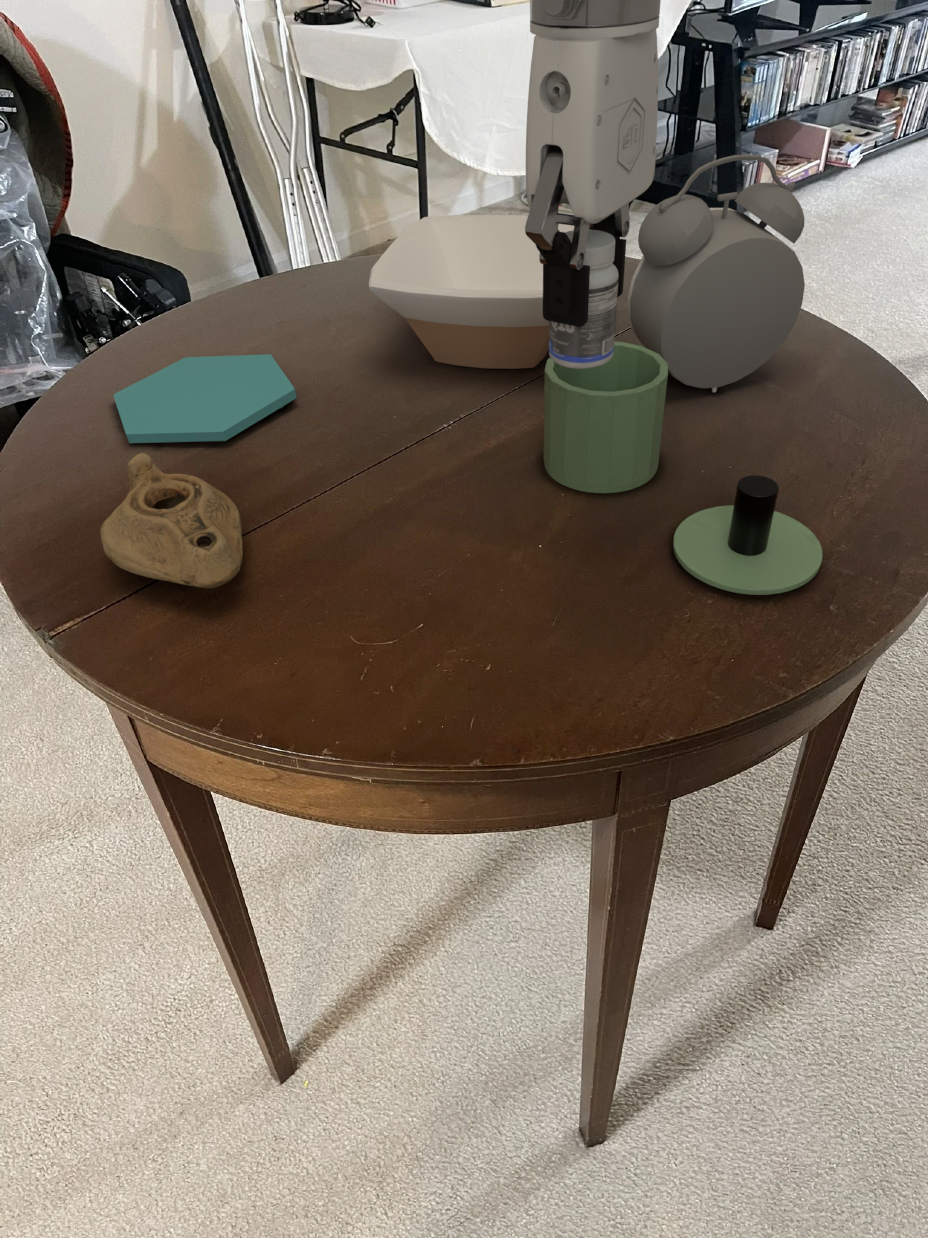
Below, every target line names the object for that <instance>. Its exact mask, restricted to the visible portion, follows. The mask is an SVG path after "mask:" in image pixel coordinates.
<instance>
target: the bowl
mask: <svg viewBox="0 0 928 1238" xmlns="http://www.w3.org/2000/svg"><path fill="white" fill-rule="evenodd" d="M527 218H528V215H525V214H523V215H522V214H453V215H433V216H424V217H422V218H420V219H418V221H416V222H414V223H413V224H410V225H409V226H408V227H406V228H404V230H402V232H401V233H400V234H399V235H398V236H397V237H396V238H395V240H394V241H393V242H392V243H391V244H390V245H389V246H388V248H386V250H385V251H384V253H382V255H381V256H380V257H379V258H378V260H377V261H376V262H375V263H374V265H373V266H372V268H371V269H370V274H369V281H368V288H369V291H370V292H371V293H372V294H374V295H375V296H376V297H377V298H379V299H380V300H381V301H382V302H384V303H385V304H386V305H388V306H389V307H390V308H391V309H392V310H393V311H395V312H396V313H397V314H398V315H400V316H401V317H402V318H404V319H405V320H406V322H407V323H408V325H409V326H410V328H411V329H412V330H413V332H414V333H415V335H416V336H417V337H418V339H419V340H420V341H421V343H422V344H423V346H424V347H425V348H426V350H427V351H428V353H429V354H430V355H431V357H432V358H433V360H434V361H435V362H436V363H440V364H441V363H442V364H445V365H452V366H458V367H467V368H476V369H493V370H495V369H496V370H498V369H500V370H515V369H516V370H518V369H519V370H521V369H533V368H535V367H537V365H539V364H540V362H541V361H543V360H544V359H545V357H546V356H547V353H548V352H549V321H547V320H545V319H544V317H543V264H541V263H540V260H539V254H540V252H539V250H538V249H537V247H536V244H535V243H534V242H533V241H532V240H531V239H530V238H529V237H528V236H527V235H526V233H525V226H526V222H527ZM558 230H559V231H560V232H567V231H572V230H574V226H571V225H565V224H559V225H558Z"/></svg>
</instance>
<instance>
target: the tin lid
mask: <svg viewBox="0 0 928 1238" xmlns="http://www.w3.org/2000/svg"><path fill="white" fill-rule="evenodd" d="M779 490H780V487H779V484H778V483H777V482H776V481H775V480H774V479H772V478H771V477H768V476H764V475H755V474H754V475H746V476H744V477H742V478H740V479H739V480H738V482H737V485H736V490H735V498H734V503H733V504H731V505H718V506H713V507H709V508H705V509H702V510H699V511H697V512H695V513H693V514H691V515H689V516H688V517H686V518H685V519H684V520H682V522H680V524H679V525H678V526H677V527H676V530H675V531H674V535H673V541H672V550H673V553H674V556H675V558H676V560H677V561H678V563H679V564H680V565H681V566H682V568H683V569H684V570H685V571H686V572H687V573H688V574H690V575H691V576H693V577H694V578H695V579H698V580H699V581H701V582H702V583H705V584H707V585H709V586H711V587H713V588H717V589H718V590H719V589H720V590H722V591H727V592H731V593H736V594H740V595H741V594H742V595H750V596H751V595H752V596H753V595H754V596H764V595H765V596H767V595H776V594H777V595H778V594H783V593H787V592H790V591H793V590H796V589H798V588H800V587H802V586H804V585H807V583H809V582H810V581H811V580H813V578H814V577H816V576H817V574H818V573H819V571H820V569H821V566H822V562H823V556H824V554H823V549H822V545H821V543H820V541H819V539H818V538H817V536H816V534H815V533H813V532H812V530H811V529H809V528H808V527H807V526H806V525H804V524H803V523H801V521H798V520H797V519H795V518H793V517H791V516H788V515H787V514H784V513H782V512H778V511H775V510H776V504H777V500H778V495H779Z"/></svg>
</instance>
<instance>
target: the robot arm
mask: <svg viewBox="0 0 928 1238" xmlns="http://www.w3.org/2000/svg"><path fill="white" fill-rule="evenodd" d="M661 1H662V0H529V32H530V34H532V35H534V36H533V44H532V53H531V62H530V70H529V84H528V95H527V113H526V131H525V132H526V133H525V191H526V202H527V206H528V208H529V212H528V215H527V216H528V218H527V222H526V226H525V233H526V235H527V236H528V237H529V238H530V239H531V240H532V241H533V242H534V243H535V244H536V247H537V249H538V250H539V252H540V254H539V260H540V263H541V264H543V317H544V319H545V320H547V321H552V322H557V323H562V324H567V325H572V326H577V327H582V326H583V325H584V324H586V323H587V321H588V303H589V279H590V266H588V265H584V261H585V254H586V247H587V240H588V234H589V229H591V230H599V231H604V232H607V233H609V234H611V235H612V236H613V237H614V238H615V256H614V261H613V262H612V264H614V265H615V266H616V268H617V270H618V274H619V279H618V293H617V299H618V298H619V297H621V296H622V294H623V293H624V283H625V267H626V252H627V239H626V237H628V235H629V231H630V227H631V221H630V220H631V219H630V209H631V206H632V204H633V203H634V200H635V199H636V198H638V197H640V196H641V195H642V194H644V193H645V192H646V191H647V190H648V189H649V187H650V186H651V185H652V183H653V181H654V178H655V172H656V171H655V170H656V158H657V157H656V156H657V137H658V136H657V134H658V110H659V109H658V108H659V106H658V104H659V54H658V53H659V51H658V34H657V29H658V28H659V27H660V13H661ZM563 204H565V205H569V207H570V209H571V213H569V212H568V213H567V212H560V211H559V208H560V206H562V205H563ZM559 224H565V225H571V226H574V232H573V239H572V243H571V241H570V239H569V238H568V236H567V234H566V233H565V232H560V231H559V230H558V225H559Z"/></svg>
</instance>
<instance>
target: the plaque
mask: <svg viewBox="0 0 928 1238" xmlns="http://www.w3.org/2000/svg"><path fill="white" fill-rule="evenodd" d="M112 396H113V399H114V402H115V405H116V408H117V411H118V414H119V417H120V420H121V423H122V424H121V425H122V427H123V430H124V433H125V436H126V439H127V441H128V443H129V444H150V443H155V444H156V443H189V442H190V443H193V442H195V443H196V442H227V441H228V440H229V439H231V438H233V437H234V436H237V435H238V434H240V433H241V432H243V431H245V430H246V429H248V428H249V427H251V426H253V425H255V424H256V423H258V422H259V421H261V420H263V419H264V418H266V417H268V416H270V415H271V414H273V413H274V412H276V411H277V410H279V409H283V407H284V406H286V405H288V404H289V403H291V402H292V401H294V400H296V399H297V397H298V396H297V392H296V388H295V387H294V385H293V384H292V382H291V380H290V379H289V378H288V377H287V376H286V373H284V371H283V370H282V368H281V367H280V366H279V364H278V363H277V361H276V359H275V357H273V355H272V354H270V353H267V354H266V353H265V354H241V355H239V354H238V355H237V354H236V355H213V356H186V357H183V358H181V359H179V360H177V361H175V362H174V363H172V364H169V365H168V366H166V367H164V368H162V369H160V370H158V371H156V372H154V373H152V374H150V375H148V376H146V377H144V378H142V379H140V380H139V381H136V382H134V383H133V384H131V385H129V386H127V387H125V388H123V389H120V390H119V391H117V392H115V393H113V394H112Z"/></svg>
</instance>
